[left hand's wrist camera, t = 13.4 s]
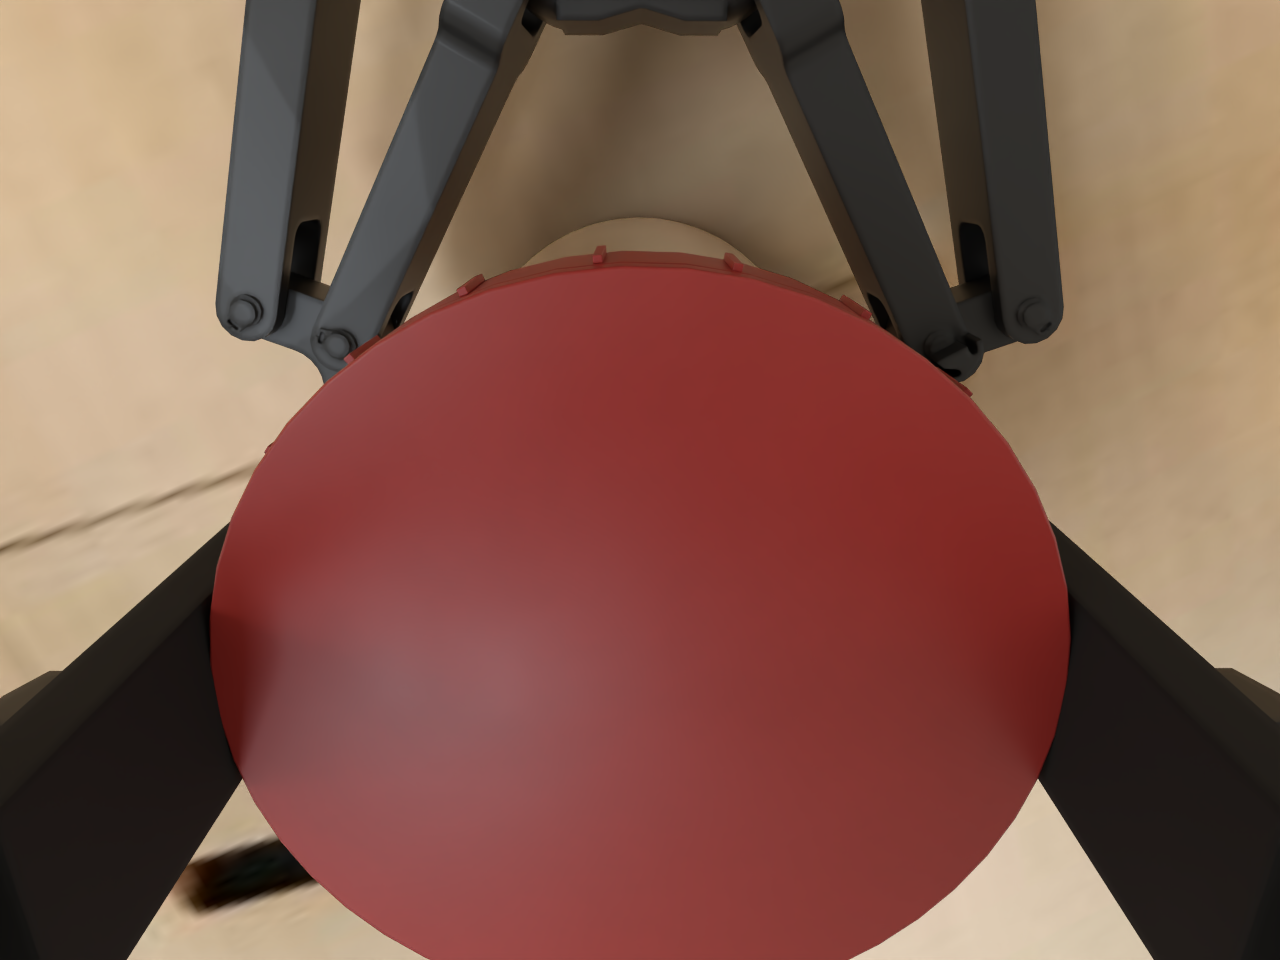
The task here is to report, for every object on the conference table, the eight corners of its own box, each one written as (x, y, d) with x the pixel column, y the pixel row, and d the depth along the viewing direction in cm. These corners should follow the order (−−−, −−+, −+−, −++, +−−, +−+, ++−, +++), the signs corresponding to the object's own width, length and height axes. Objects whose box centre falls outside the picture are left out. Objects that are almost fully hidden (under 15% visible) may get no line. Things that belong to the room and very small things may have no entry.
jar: (427, 445, 26) (165, 801, 12) (568, 151, 23) (452, 140, 9) (698, 579, 28) (762, 1036, 13) (862, 320, 25) (1174, 546, 10)
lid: (162, 764, 13) (100, 845, 12) (444, 71, 10) (406, 56, 8) (768, 1002, 15) (782, 1098, 13) (1183, 484, 11) (1267, 535, 10)
